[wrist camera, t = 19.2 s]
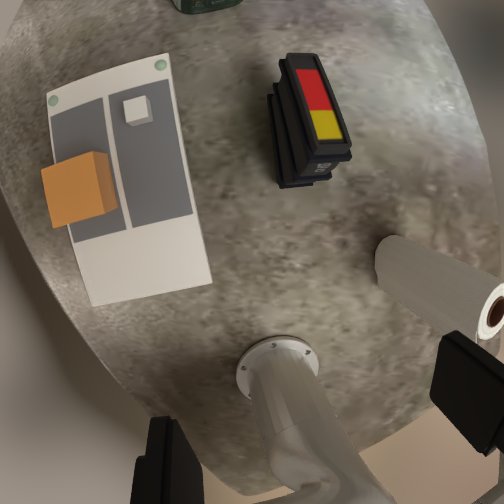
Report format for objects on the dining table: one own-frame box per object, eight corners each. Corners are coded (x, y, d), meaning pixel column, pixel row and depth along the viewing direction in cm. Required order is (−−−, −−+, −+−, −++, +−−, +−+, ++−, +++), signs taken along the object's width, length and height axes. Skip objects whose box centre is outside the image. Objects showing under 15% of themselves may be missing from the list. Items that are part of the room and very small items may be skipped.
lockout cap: (118, 207, 32) (104, 213, 27) (71, 220, 32) (53, 228, 27) (107, 153, 30) (92, 151, 26) (60, 168, 30) (40, 169, 25)
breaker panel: (212, 276, 39) (212, 283, 36) (98, 299, 37) (92, 308, 35) (170, 59, 31) (167, 51, 28) (54, 96, 29) (45, 92, 27)
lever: (153, 121, 30) (148, 116, 27) (132, 126, 30) (126, 122, 27) (150, 101, 30) (145, 95, 27) (129, 106, 29) (123, 101, 27)
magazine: (280, 213, 36) (313, 152, 22) (260, 121, 38) (277, 39, 24) (310, 209, 37) (358, 150, 22) (287, 119, 39) (314, 40, 24)
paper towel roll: (397, 226, 41) (512, 270, 20) (411, 258, 43) (515, 313, 22) (360, 254, 41) (467, 321, 21) (377, 286, 43) (474, 360, 22)
